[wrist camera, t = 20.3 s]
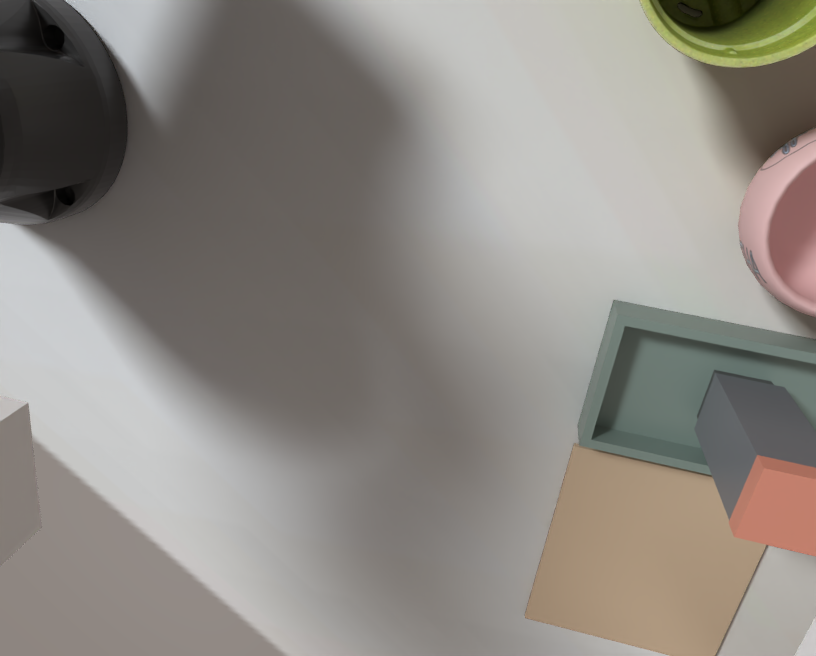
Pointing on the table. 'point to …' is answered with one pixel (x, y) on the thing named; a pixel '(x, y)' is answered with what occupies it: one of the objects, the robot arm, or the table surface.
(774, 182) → the mug
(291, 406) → the table surface
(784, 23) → the plant pot
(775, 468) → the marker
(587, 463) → the tan board
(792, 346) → the tray
